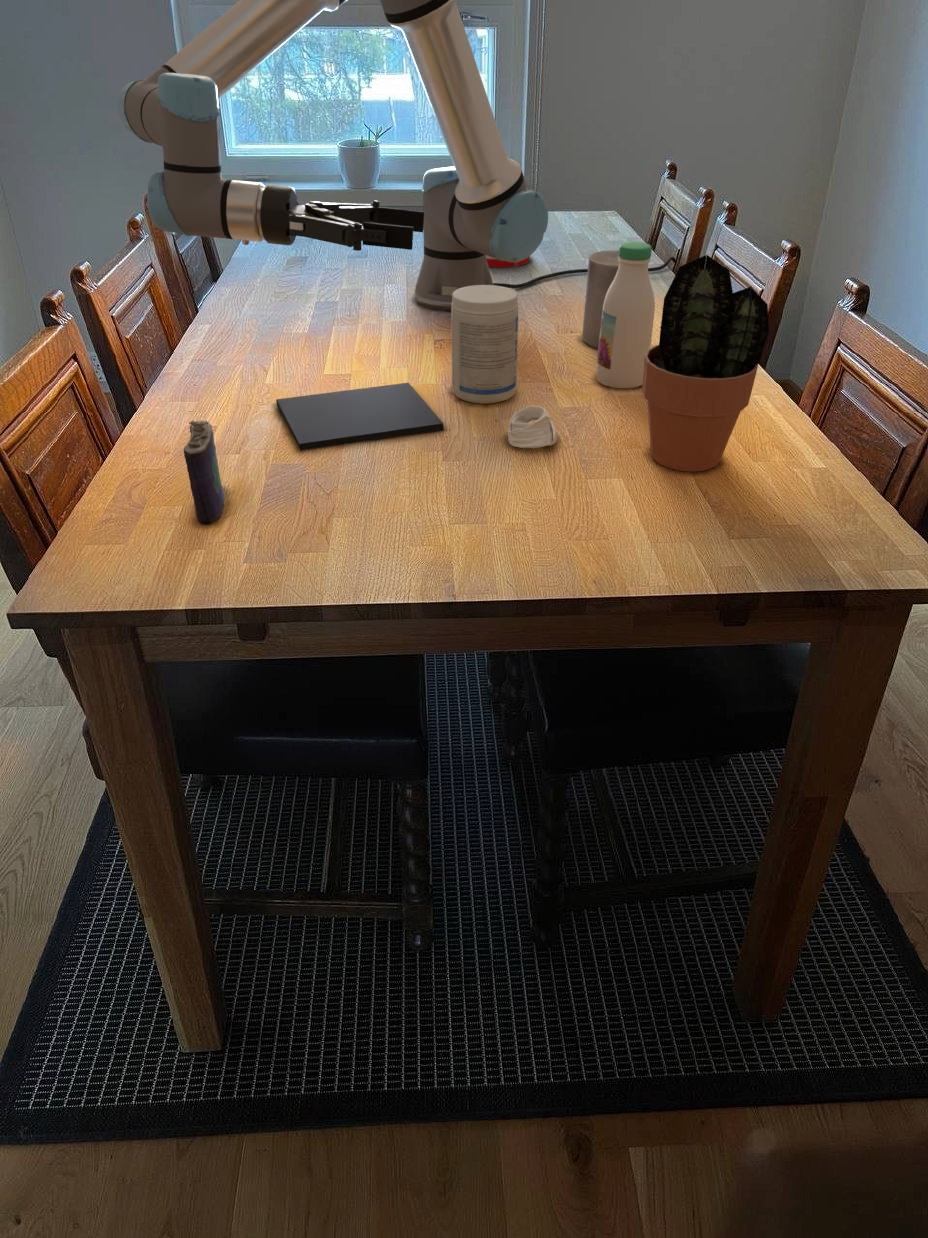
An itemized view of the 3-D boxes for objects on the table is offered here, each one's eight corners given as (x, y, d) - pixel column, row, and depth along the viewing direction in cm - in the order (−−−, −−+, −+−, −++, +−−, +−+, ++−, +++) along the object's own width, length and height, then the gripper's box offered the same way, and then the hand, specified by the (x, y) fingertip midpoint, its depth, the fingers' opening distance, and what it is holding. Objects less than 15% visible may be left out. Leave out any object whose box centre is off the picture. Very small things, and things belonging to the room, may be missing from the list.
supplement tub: (528, 397, 135) (533, 296, 127) (475, 411, 131) (477, 307, 123) (491, 377, 142) (493, 279, 133) (439, 389, 138) (438, 289, 129)
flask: (202, 488, 111) (188, 405, 105) (227, 487, 111) (214, 404, 105) (195, 526, 104) (179, 439, 97) (221, 525, 104) (207, 437, 98)
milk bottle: (649, 375, 143) (667, 240, 132) (640, 392, 137) (658, 253, 126) (601, 368, 145) (614, 236, 134) (590, 385, 139) (603, 248, 128)
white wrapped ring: (562, 458, 121) (568, 424, 118) (512, 457, 119) (518, 423, 116) (547, 429, 127) (553, 397, 124) (500, 428, 126) (505, 395, 122)
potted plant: (676, 489, 112) (709, 279, 97) (611, 447, 122) (633, 250, 107) (761, 467, 117) (805, 264, 103) (693, 428, 127) (724, 238, 112)
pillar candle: (645, 336, 158) (656, 245, 150) (628, 353, 151) (639, 259, 142) (591, 328, 162) (599, 238, 153) (573, 345, 154) (580, 252, 146)
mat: (408, 388, 138) (408, 382, 137) (443, 430, 126) (443, 423, 125) (276, 405, 132) (275, 399, 132) (299, 450, 120) (299, 443, 119)
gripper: (286, 227, 138) (425, 242, 138) (241, 259, 117) (405, 277, 117) (285, 173, 134) (429, 188, 134) (238, 196, 113) (409, 213, 113)
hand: (418, 229), depth 125 cm, fingers open, 13 cm apart
